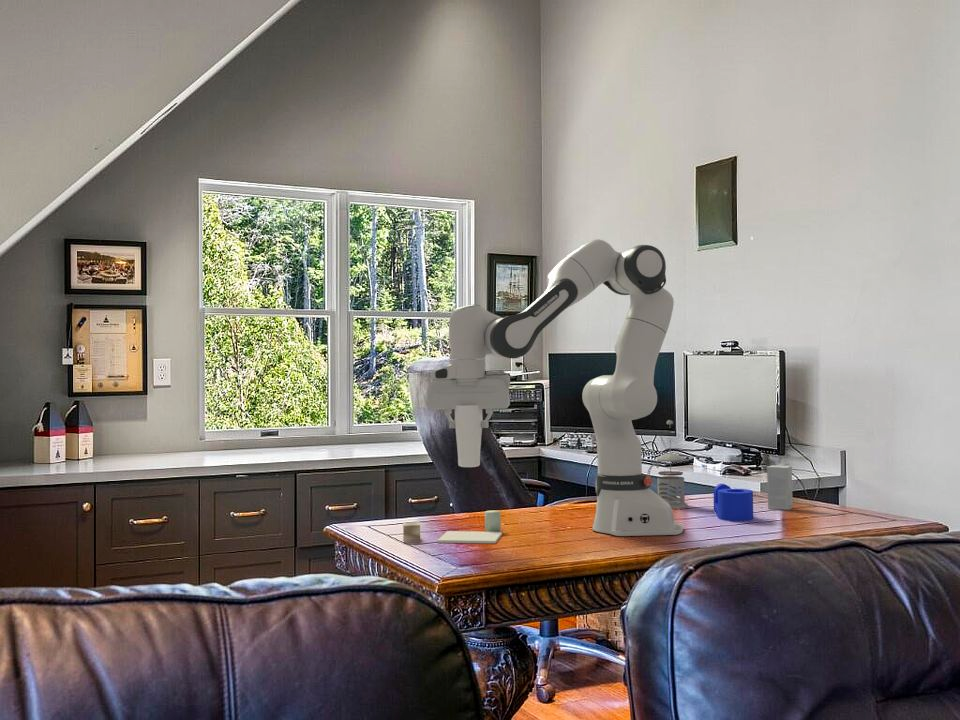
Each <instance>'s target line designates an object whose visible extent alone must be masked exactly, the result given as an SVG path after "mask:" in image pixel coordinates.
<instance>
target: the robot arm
mask: <svg viewBox="0 0 960 720" xmlns="http://www.w3.org/2000/svg"><path fill="white" fill-rule="evenodd" d="M666 270H667V266H666V259H665V256H664V254H663V253H662V251H661V250H659V248H657V246H653V245H650V244H639V245H636V246H634V247H631V248H627V249H626V250H624V251H622V252H619V251H616V250H615V249H614V248H613V246H612V245H611V244H610V243H608V241H605V240H604V239H592V240H590V241H588V242H586V243H584V244H583V245H581V246H580V247H578V248H576V249H575V250H572V252H571V253H569V254H568V255H566V256H565V257H564V258H563V259H561V260H560V261H559V262H558V263H557V264H556V265H555V266H554V267H553V268H552V269H551V271H549V273H548V274H547V276H546V289H545V291H544V292H543V293H542V294H541V295H540V296H539V297H537V299H535V300H534V301H533V302H531V304H530V305H529V306H527V308H525V309H524V310H522V311H520V313H517V314H516V313H515V314H512V315H508V316H505V317H502V316H499V315H497V314H495V313H492V312H490V311H488V310H487V309H486V308H484V306H483V307H482V305H481V304H470V305H464V306H459V307H457V308H455V309H453V310H452V312H451V314H450V315H449V324H448V325H449V326H448V343H449V346H450V354H449V364H448V365H444V366H442V367H440V368H437V369H434V370H432V371H431V373H430V378H431V379H432V380H431V381H430V382H429V384H428V386H427V392H426V394H427V395H426V407H427V408H428V409H429V410H431V411H433V410H436V411H437V410H439V411H440V410H443V411H444V416H445V418H446V419H447V420H448V427H449V429H455V420H454V419H453V418H452V416H451V414H452V411H453V410H455V409H456V405H478V407H479V409H482V410H485V414H487V415H486V417H485V419H484V420H483V419H482V421H481V424H482V429H488V428H489V420H490V419H491V417H492V415H493V414H494V409H495V410H498V409H499V410H502V409H504V410H505V409H508V407H509V406H510V404H511V401H510V391H509V388H510V386H511V376H510V374H508V373H507V372H505V371H504V370H498V371H497V370H486V368H487V367H486V356H487V355H490V356H492V357H496V358H507V359H518V358H522V357H524V356H526V354H528V352H529V351H531V349H532V347H533V346H534V344H535V342H536V340H537V337H538V336H539V335H540V333H541V331H542V330H543V329H544V328H546V327H547V326H548V325H549V324H550V323H551V322H553V320H555V319H556V318H557V317H558V316H559V315H560V314H561V313H563V312H564V311H565V310H566V309H568V308H569V307H572V306H574V305H575V304H577V303H578V302H580V301H582V300H583V299H584V298H586V297H588V296H589V295H590V294H591V293H593V291H595V290H596V289H597V288H598V287H599V286H601V285H602V284H603V285H604V286H606V287H607V289H609V291H611V292H613V293H615V294H617V295H620V296H629V297H630V304H629V309H628V312H627V313H626V316H625V319H624V321H623V324H622V327H621V329H620V331H619V335H618V336H617V339H616V342H615V345H614V352H615V354H616V364H615V368H614V369H615V370H614V372H613V374H609V375H608V374H606V375H605V374H603V375H600V376H597V377H595V378H592V379H590V380H589V381H588V382H586V384H585V385H584V387H583V389H582V393H581V395H582V397H581V399H582V403H583V406H584V407H585V409H586V410H587V411H588V413H589V417H590V420H591V423H592V427H593V431H594V437H595V442H596V453H597V454H596V456H597V473H596V474H595V493H596V496H597V497H596V508H595V516H594V520H593V524H592V527H591V529H592V530H593V531H595V532H597V533H602V534H608V535H613V536H616V537H630V536H633V537H634V536H636V537H637V536H638V537H639V536H676V535H680V534H682V533H683V532H684V526H683V525H682V524H681V523H679V522H676V521H675V518H674V517H675V516H674V511H673V508H671V506H670V505H669V503H668V502H666V501H665V500H664V499H663V498H661V497H660V496H659V495H657V492H655V491H654V490H652V489H651V484H652V483H653V480H652V478H651V476H650V477H649V475H646V474H645V473H643V467H642V466H643V464H642V463H643V461H642V442H641V440H640V439H639V437H638V436H637V434H636V431H635V428H634V425H633V422H632V421H634V420H639V419H642V418H645V417H647V416H649V415H651V414H652V412H653V411H654V410H655V408H656V406H657V403H658V393H657V389H656V387H655V385H654V384H655V383H654V381H655V378H654V377H655V369H656V364H657V360H658V357H659V355H660V351H661V349H662V347H663V343H664V341H665V338H666V335H667V332H668V329H669V326H670V323H671V320H672V315H673V310H674V303H675V301H674V297H673V295H672V294H671V293H670V292H669V291H668V290H667V289H665V288H664V287H665V285H666V284H667V277H666ZM652 485H653V484H652Z"/></svg>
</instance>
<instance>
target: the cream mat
mask: <svg viewBox="0 0 960 720" xmlns="http://www.w3.org/2000/svg"><path fill="white" fill-rule="evenodd" d="M502 535H503V531H501V532H485V531H475V530H473V531H472V530H471V531H469V530H466V531H462V530H461V531H460V530H455V531H454V530H447V531H446V532H444V533H443V534H442V535H441V536H440V537H439V538H438V539H437V543H439V544H440V543H441V544H496V543H497V542H498V541H499V539H501V537H502Z"/></svg>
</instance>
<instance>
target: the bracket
mask: <svg viewBox="0 0 960 720" xmlns="http://www.w3.org/2000/svg"><path fill="white" fill-rule="evenodd" d="M712 492H713V511H714V513H715V515H716V517H717V519H719V520H720V521H725V522H749V521H754V491H753V490H751V489H745V488H731V487H730V486H729V485H727V484H725V483H718V484H717V485H716V486H715V487H714V488H713V491H712Z"/></svg>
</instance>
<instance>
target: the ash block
mask: <svg viewBox="0 0 960 720" xmlns="http://www.w3.org/2000/svg"><path fill="white" fill-rule="evenodd" d="M402 528H403V531H402V533H403V534H402V537H403V543H406V542H407V543H409V542H410V541H416V542H421V522H417V521H416V522H403V523H402ZM410 543H411V542H410Z"/></svg>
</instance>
